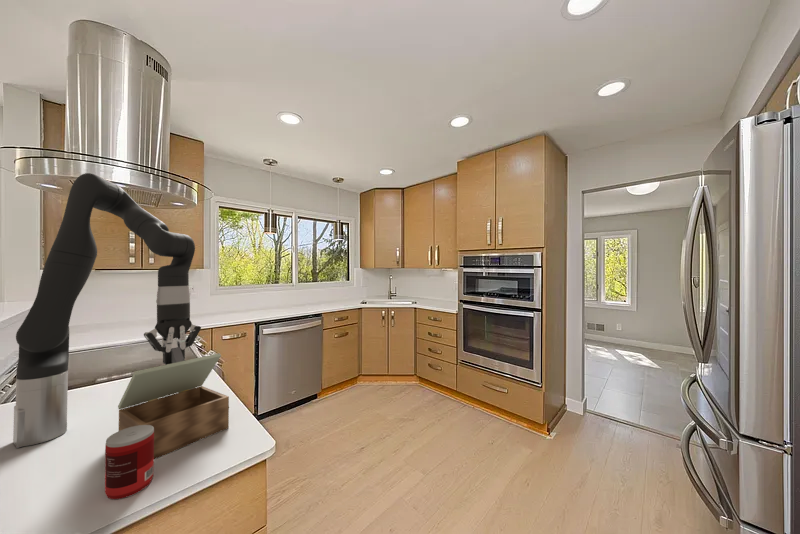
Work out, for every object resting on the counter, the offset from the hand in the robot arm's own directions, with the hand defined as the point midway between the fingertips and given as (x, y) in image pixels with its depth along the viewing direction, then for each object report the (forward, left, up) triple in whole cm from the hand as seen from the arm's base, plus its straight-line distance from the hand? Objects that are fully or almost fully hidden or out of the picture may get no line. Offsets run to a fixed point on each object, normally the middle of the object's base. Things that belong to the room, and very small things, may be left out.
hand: (174, 363), depth 84 cm
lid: (0, +1, -5) cm, 5 cm away
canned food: (-14, -17, -20) cm, 29 cm away
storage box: (0, -2, -19) cm, 20 cm away
